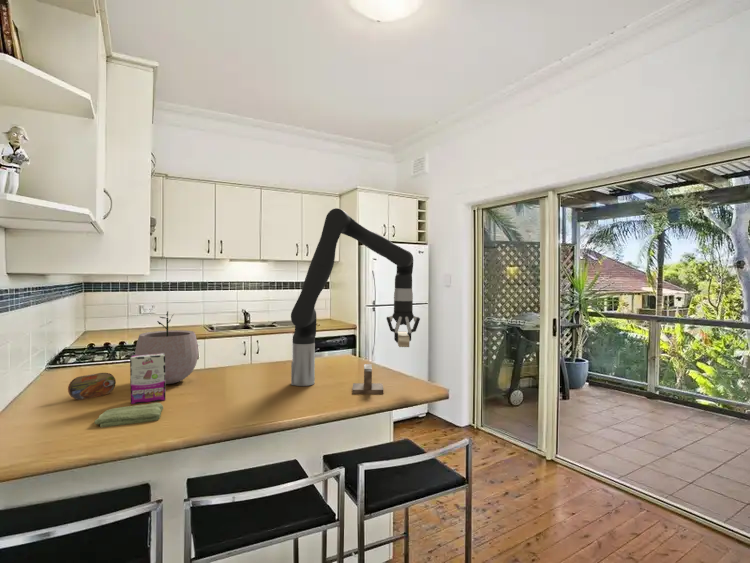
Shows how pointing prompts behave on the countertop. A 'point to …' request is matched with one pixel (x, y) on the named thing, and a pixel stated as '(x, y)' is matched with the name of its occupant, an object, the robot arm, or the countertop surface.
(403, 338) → the pale gold metallic bar
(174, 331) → the plant pot
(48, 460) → the countertop surface
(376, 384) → the balance stand
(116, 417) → the washcloth
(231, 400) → the countertop surface
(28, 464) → the countertop surface
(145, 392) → the candy bar box
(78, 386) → the tin
